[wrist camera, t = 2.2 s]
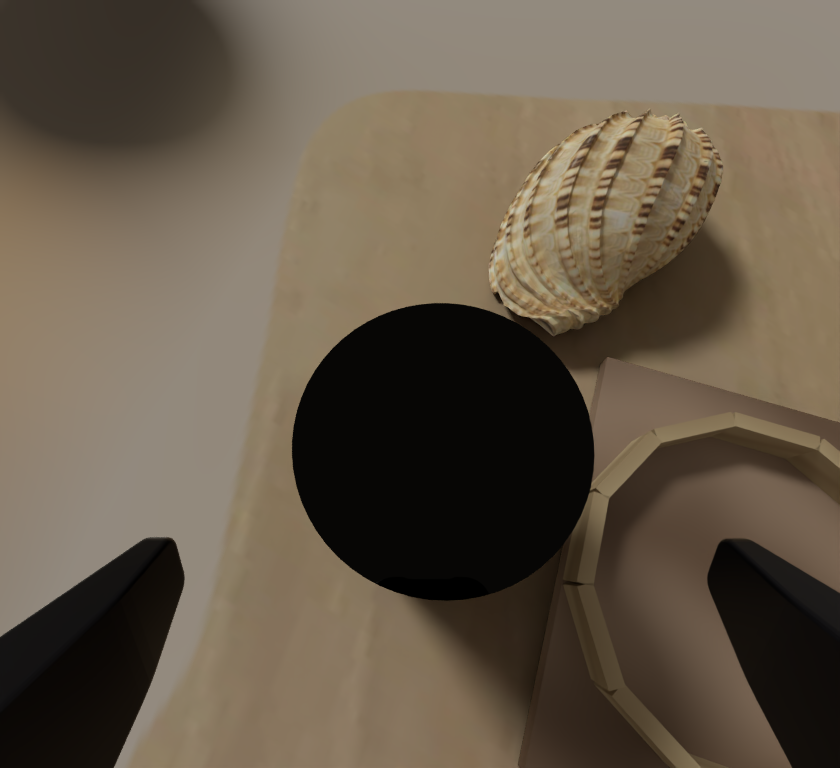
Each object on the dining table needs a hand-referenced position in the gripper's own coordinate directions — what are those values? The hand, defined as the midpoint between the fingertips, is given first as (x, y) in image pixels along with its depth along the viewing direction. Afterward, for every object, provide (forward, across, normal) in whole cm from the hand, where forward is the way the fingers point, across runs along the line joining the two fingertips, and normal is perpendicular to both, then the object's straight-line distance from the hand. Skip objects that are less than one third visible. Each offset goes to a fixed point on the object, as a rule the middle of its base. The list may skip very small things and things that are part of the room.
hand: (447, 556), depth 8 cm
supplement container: (+8, 0, +5) cm, 10 cm away
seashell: (+16, -7, -2) cm, 18 cm away
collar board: (+6, -10, +8) cm, 14 cm away
